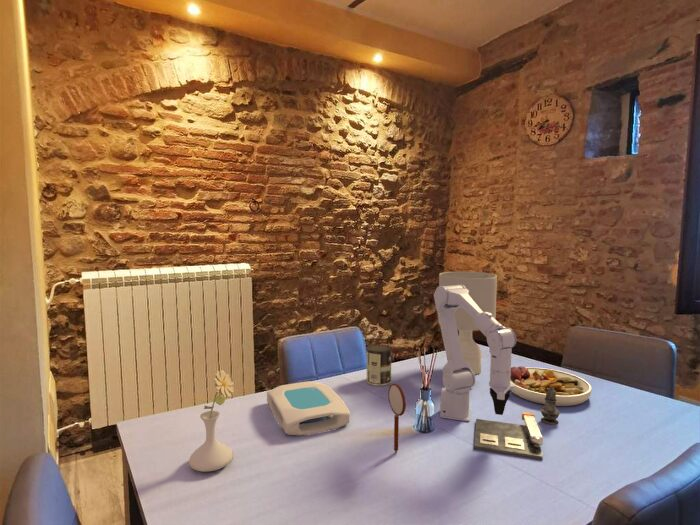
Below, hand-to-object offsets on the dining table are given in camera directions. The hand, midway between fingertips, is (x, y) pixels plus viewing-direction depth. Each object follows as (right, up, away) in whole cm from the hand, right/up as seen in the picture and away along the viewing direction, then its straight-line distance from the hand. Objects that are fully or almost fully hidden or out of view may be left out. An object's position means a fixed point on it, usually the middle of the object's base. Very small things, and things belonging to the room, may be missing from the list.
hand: (498, 413), depth 128 cm
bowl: (+31, -5, +37) cm, 49 cm away
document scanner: (-59, -7, +18) cm, 62 cm away
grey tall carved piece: (+21, -7, +13) cm, 26 cm away
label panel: (+3, -8, +1) cm, 9 cm away
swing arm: (+11, -6, +2) cm, 12 cm away
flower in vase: (-81, -9, -12) cm, 83 cm away
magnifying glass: (-31, -9, -7) cm, 33 cm away
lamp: (+6, -3, +62) cm, 62 cm away
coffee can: (-33, -4, +48) cm, 58 cm away
